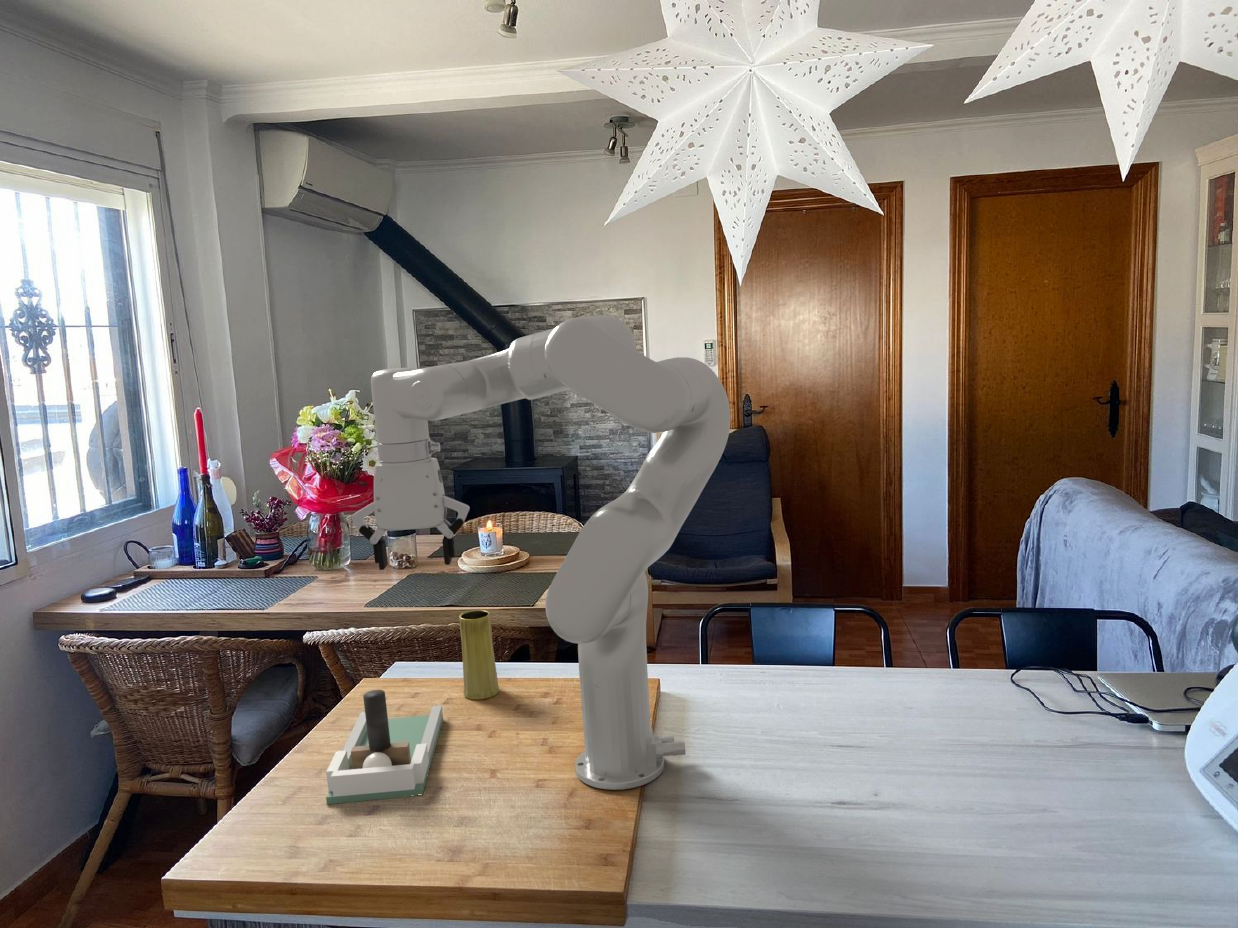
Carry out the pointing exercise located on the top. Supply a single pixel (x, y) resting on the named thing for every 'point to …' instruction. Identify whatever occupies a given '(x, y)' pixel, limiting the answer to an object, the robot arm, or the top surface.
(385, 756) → the ball
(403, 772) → the pitch
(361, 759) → the striker
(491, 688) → the vase
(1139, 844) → the top surface
